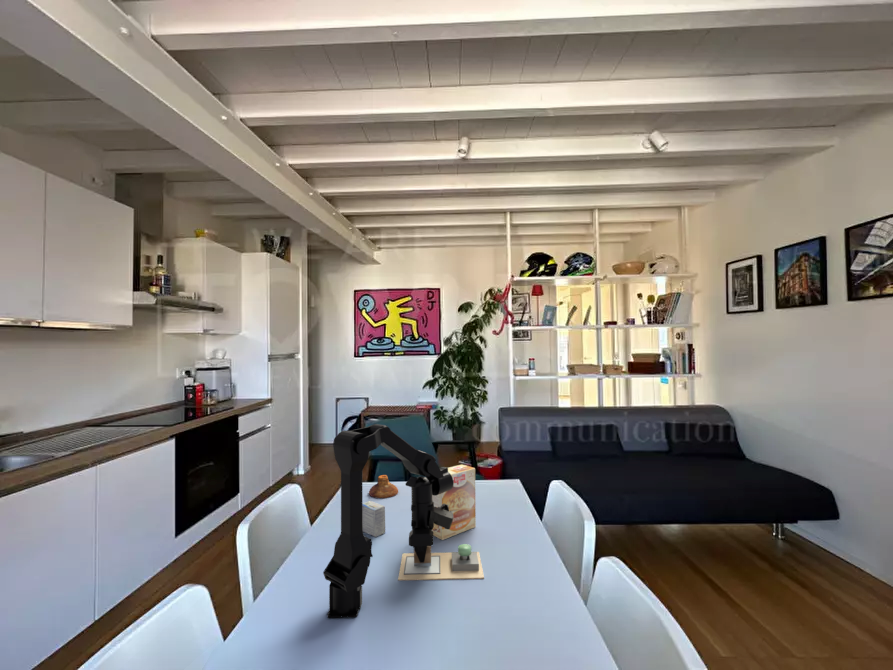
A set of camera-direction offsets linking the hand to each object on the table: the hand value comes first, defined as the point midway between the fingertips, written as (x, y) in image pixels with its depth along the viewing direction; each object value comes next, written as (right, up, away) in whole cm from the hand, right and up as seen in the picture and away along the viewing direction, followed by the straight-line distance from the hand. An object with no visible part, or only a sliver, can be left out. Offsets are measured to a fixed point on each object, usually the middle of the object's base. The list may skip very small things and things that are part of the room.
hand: (422, 558), depth 118 cm
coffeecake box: (+9, -3, +23) cm, 25 cm away
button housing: (+12, -2, 0) cm, 12 cm away
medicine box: (-17, -3, +23) cm, 29 cm away
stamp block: (0, -1, 0) cm, 1 cm away
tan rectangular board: (+5, -2, 0) cm, 5 cm away
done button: (+12, -1, 0) cm, 12 cm away
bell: (-19, -5, +60) cm, 63 cm away
